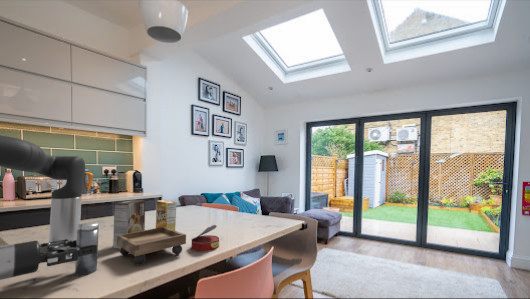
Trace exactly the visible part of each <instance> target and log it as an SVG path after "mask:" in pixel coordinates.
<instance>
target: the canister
mask: <svg viewBox="0 0 530 299" xmlns="http://www.w3.org/2000/svg"><path fill="white" fill-rule="evenodd" d="M99 225H100V223H99V222H97V221H95V222H91V221H90V222H85V223H80V224H79V225H77V242H76V247H83V246H89V245H94V244H95V245H96V246H97V247H96V253H93V254H89V255H84V256H79V258H78V260H76V261H75V264H74V265H75V267H74V274H75V276H79V277H80V276H87V275H91V274H93V273H95V272H96V271H97V270H98V253H99V250H98V249H99V230H100V229H99V228H100V226H99Z"/></svg>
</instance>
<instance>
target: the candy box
mask: <svg viewBox="0 0 530 299" xmlns="http://www.w3.org/2000/svg"><path fill="white" fill-rule="evenodd" d="M155 212H156V213H155V228H160V227H166V228H169V229H172V230H175V231H176V223H177V222H176V220H177V219H176V218H177V216H176V215H177V202H176V201H172V200H166V199H161V200H156V209H155Z"/></svg>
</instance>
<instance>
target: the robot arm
mask: <svg viewBox="0 0 530 299" xmlns="http://www.w3.org/2000/svg"><path fill="white" fill-rule="evenodd" d="M0 167H2V168H6V169H10V170H16V171H18V172H19V171H20V172H26V173H33V174H34V173H35V174H38V175H42V176H45V177H47V178H50V179H53V180H58V181H62V180H63V181H66V182H65V185H63V186H62V187H59V188H57V189H54V190H52V192H51V199H50V200H51V201H50V219H49V234H48V242H45V243H44V242H43V243H40V242H39V241H38V240H30V241H23V242H19V243H11V244H6V245H1V246H0V281H3V280H6V279H11V278H15V277H20V276H25V275H29V274H32V273H36V272H38V269H39V267H40V266H39V265H40V264H44V263H46V267H52V266H56V265H57V266H58V265H60V264H61V265H62V264H66V263H72V262H76V260H78V258H79V256H84V255H89V254H93V253H96V247H97V246H96V245H95V244H94V245H89V246H83V247H76V242H77V225H79V224H81V217H82V216H81V213H82V194H83V190H84V187H85V186H84V185H85V176H86V163H85V160H84V158H83V157H81V156H78V155H77V156H73V155H72V156H71V155H70V156H69V155H67V156H65V155H62V156H61V155H60V156H59V155H58V156H57V155H51V154H46V153H45V151H44V150H43V149H42V148H41V146H39V145H38V144H36V143H33V142H30V141H27V140H25V139H21V138H17V137H13V136H6V135H0Z"/></svg>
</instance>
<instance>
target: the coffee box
mask: <svg viewBox="0 0 530 299" xmlns="http://www.w3.org/2000/svg"><path fill="white" fill-rule="evenodd" d="M113 205H114V206H113V210H114V211H113V238H112V241H113V242H112V248H113V249H120V248H121V247H120V246H118V245H117V235H122V234H127V233H133V232H138V231H144V230H146V229H145V225H146V223H145V222H146V200H145V199H144V200H143V199H142V200H140V199H137V200H136V199H130V200H126V201H125V200H124V201H120V202H115V203H114V204H113Z"/></svg>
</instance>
